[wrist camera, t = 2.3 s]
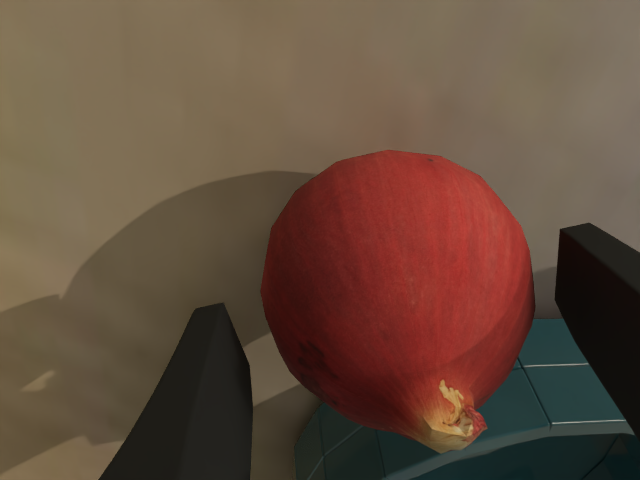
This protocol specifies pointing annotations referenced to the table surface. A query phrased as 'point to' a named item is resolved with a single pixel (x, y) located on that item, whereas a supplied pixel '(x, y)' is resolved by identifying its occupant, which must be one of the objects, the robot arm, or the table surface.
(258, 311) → the table surface
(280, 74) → the table surface
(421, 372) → the onion
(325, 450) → the teal bowl
